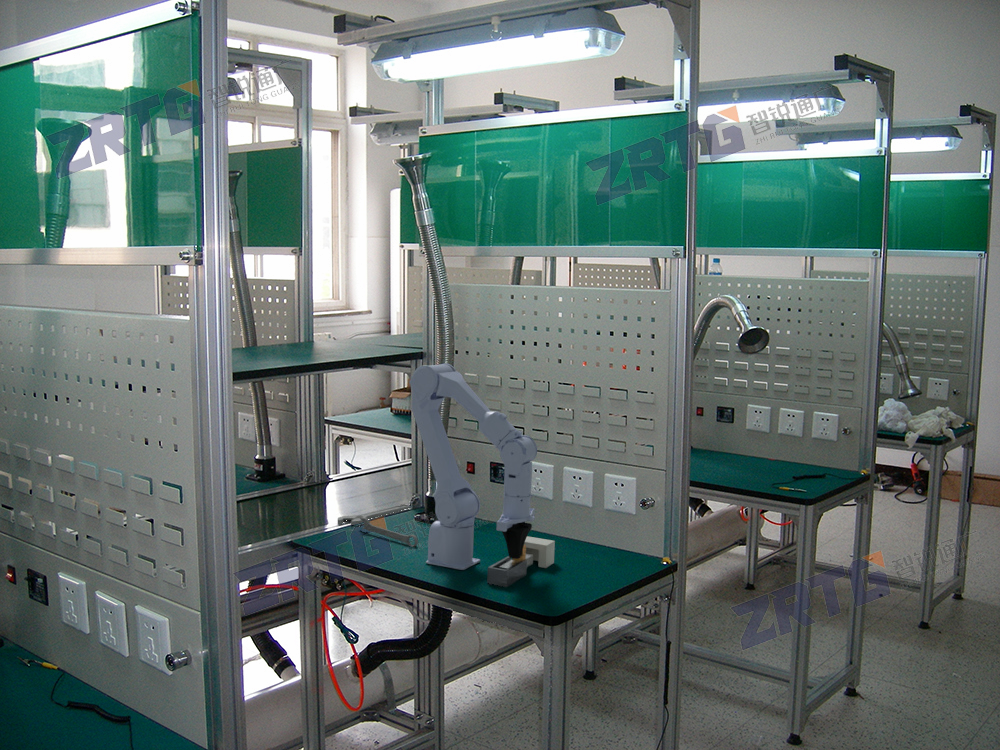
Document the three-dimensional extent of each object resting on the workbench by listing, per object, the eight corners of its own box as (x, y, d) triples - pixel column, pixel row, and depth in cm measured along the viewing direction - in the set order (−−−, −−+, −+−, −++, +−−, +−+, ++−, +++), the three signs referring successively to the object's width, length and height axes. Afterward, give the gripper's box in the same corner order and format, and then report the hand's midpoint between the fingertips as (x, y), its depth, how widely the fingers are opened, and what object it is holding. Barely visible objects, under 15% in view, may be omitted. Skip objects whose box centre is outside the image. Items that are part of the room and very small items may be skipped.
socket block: (515, 562, 203) (516, 540, 203) (524, 557, 207) (525, 535, 207) (545, 567, 200) (546, 545, 199) (553, 562, 204) (554, 540, 203)
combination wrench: (418, 533, 213) (361, 515, 225) (414, 534, 212) (357, 516, 224) (418, 549, 213) (361, 530, 226) (414, 550, 212) (357, 531, 225)
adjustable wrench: (403, 509, 251) (403, 502, 251) (420, 513, 247) (420, 506, 247) (333, 524, 231) (333, 517, 231) (350, 529, 227) (350, 522, 227)
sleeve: (487, 583, 188) (487, 567, 187) (507, 571, 196) (508, 556, 196) (506, 587, 186) (507, 571, 185) (526, 575, 194) (526, 559, 194)
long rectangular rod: (498, 576, 190) (499, 552, 189) (522, 562, 201) (523, 539, 200) (508, 578, 189) (509, 554, 188) (532, 563, 199) (533, 540, 199)
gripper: (519, 503, 184) (517, 569, 185) (548, 490, 197) (546, 552, 198) (488, 498, 187) (486, 563, 188) (519, 486, 200) (516, 547, 201)
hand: (514, 557), depth 194 cm, fingers closed
